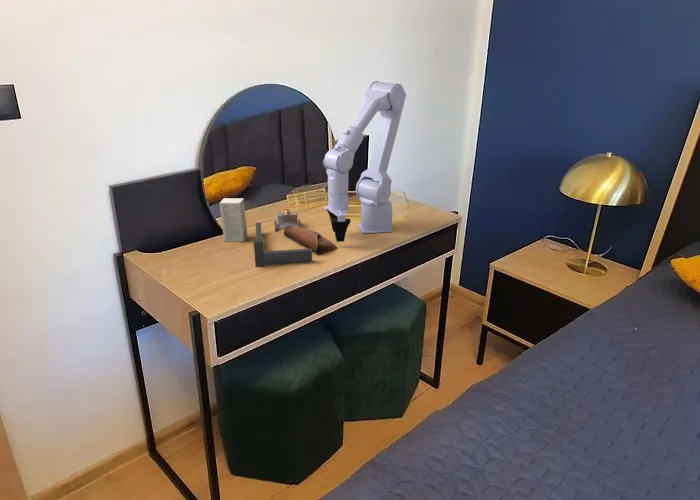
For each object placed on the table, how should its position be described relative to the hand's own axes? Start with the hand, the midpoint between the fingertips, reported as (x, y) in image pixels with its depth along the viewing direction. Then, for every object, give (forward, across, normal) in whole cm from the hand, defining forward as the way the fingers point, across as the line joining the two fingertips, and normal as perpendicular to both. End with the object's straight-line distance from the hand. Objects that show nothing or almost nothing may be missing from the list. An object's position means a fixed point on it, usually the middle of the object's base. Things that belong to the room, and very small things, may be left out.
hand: (338, 236), depth 167 cm
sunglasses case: (+2, 0, -8) cm, 8 cm away
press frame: (+2, -1, -17) cm, 17 cm away
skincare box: (+2, -6, -30) cm, 31 cm away
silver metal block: (+2, -14, -14) cm, 20 cm away
